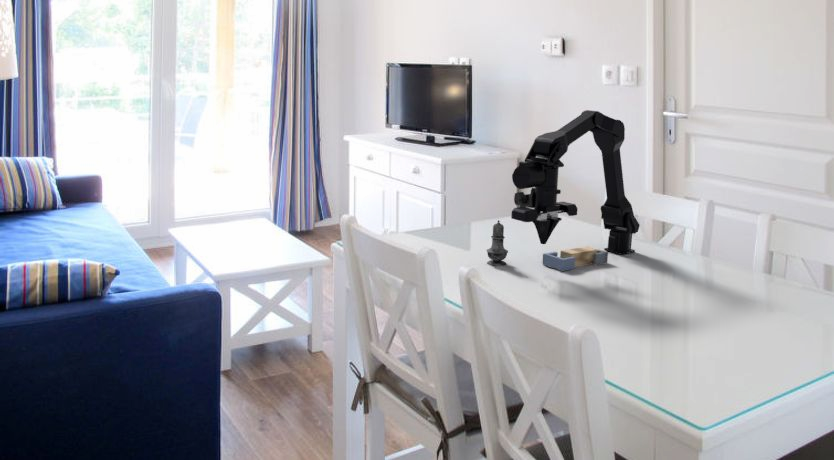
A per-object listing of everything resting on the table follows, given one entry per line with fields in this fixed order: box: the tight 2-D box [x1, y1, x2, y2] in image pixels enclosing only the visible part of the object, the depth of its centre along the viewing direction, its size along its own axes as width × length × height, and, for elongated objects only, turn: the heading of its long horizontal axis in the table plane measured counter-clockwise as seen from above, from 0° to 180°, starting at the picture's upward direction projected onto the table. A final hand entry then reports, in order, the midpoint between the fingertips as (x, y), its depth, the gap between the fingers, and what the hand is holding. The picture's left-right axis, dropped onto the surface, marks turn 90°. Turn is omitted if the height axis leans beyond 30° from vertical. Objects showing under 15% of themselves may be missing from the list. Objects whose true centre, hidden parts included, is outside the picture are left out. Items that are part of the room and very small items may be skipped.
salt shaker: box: [486, 220, 509, 267], centre depth 238 cm, size 6×6×12 cm
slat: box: [559, 246, 599, 267], centre depth 241 cm, size 10×4×4 cm, turn 124°
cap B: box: [541, 251, 575, 271], centre depth 236 cm, size 4×8×3 cm, turn 36°
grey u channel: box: [592, 249, 609, 266], centre depth 244 cm, size 4×8×3 cm, turn 36°
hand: (543, 243), depth 232 cm, fingers closed
